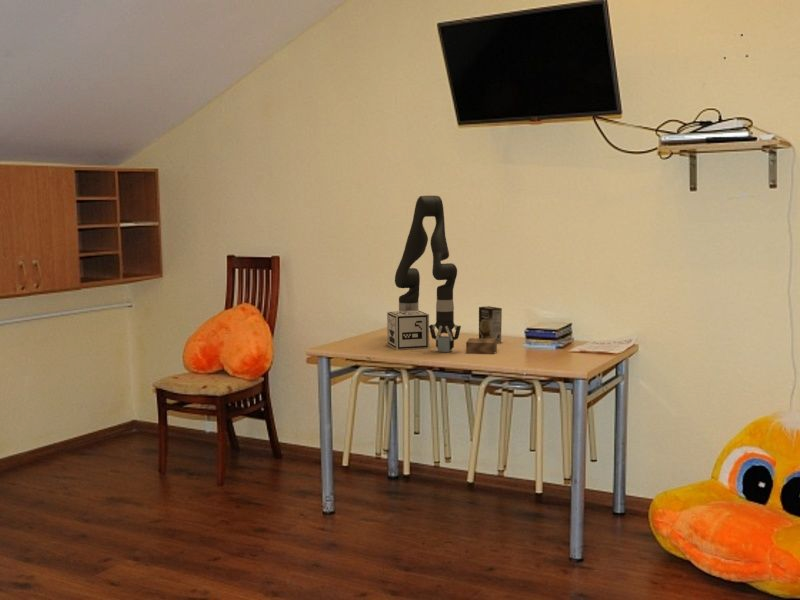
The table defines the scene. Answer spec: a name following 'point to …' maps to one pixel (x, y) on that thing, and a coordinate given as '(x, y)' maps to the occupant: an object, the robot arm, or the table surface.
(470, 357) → the table surface
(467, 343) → the walnut block
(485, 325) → the coffee box
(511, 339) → the table surface
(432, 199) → the robot arm
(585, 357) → the table surface
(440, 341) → the slate block
